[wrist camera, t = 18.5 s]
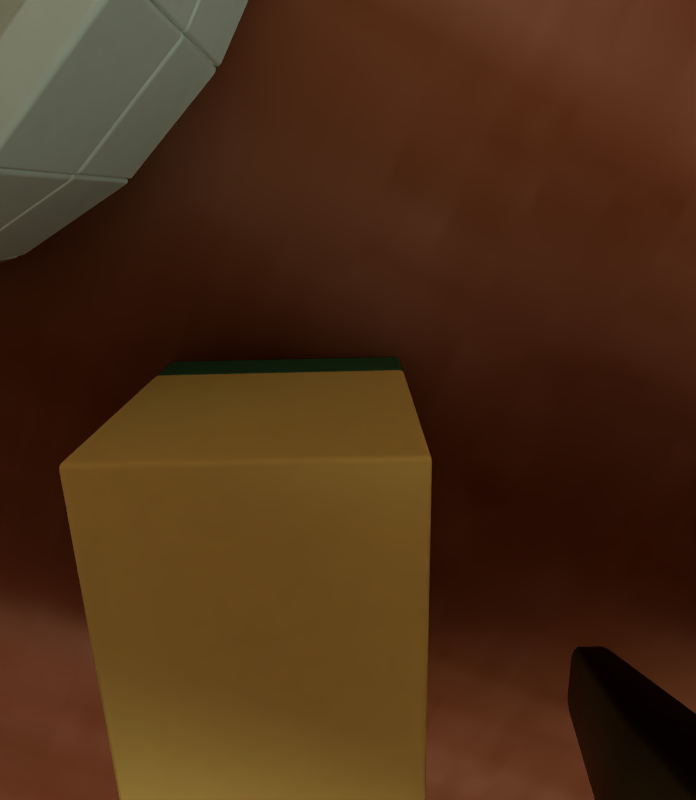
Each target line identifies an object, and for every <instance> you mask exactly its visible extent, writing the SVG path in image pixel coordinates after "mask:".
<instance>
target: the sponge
mask: <svg viewBox="0 0 696 800" xmlns="http://www.w3.org/2000/svg"><path fill="white" fill-rule="evenodd" d="M59 472H60V477H61V483H62V488H63V493H64V499H65V504H66V510H67V515H68V521H69V526H70V532H71V537H72V543H73V548H74V554H75V559H76V564H77V570H78V575H79V581H80V586H81V592H82V597H83V603H84V608H85V614H86V619H87V625H88V630H89V635H90V641H91V646H92V652H93V657H94V663H95V668H96V674H97V679H98V685H99V690H100V696H101V701H102V706H103V712H104V717H105V723H106V728H107V734H108V739H109V745H110V750H111V756H112V761H113V766H114V772H115V777H116V783H117V788H118V794H119V799H120V800H425V779H426V730H427V680H428V631H429V582H430V532H431V483H432V459H431V456H430V453H429V449H428V446H427V443H426V440H425V437H424V434H423V431H422V428H421V425H420V422H419V418H418V415H417V412H416V409H415V406H414V403H413V400H412V397H411V394H410V391H409V387H408V384H407V381H406V378H405V375H404V373H403V370H402V367H401V364H400V361H399V359H398V358H396V357H370V358H325V359H281V360H237V361H193V362H173V363H170V364H169V365H168V366H167V367H166V368H165V369H164V370H163V371H162V372H161V373H160V374H159V375H158V376H156V377H155V378H154V379H152V380H151V381H150V382H149V383H148V384H147V385H146V386H145V387H144V388H143V389H142V390H140V391H139V392H138V393H137V394H136V395H135V396H134V397H133V398H132V399H131V400H130V401H128V402H127V403H126V404H125V405H124V406H123V407H122V408H121V409H120V410H119V411H118V412H116V413H115V414H114V415H113V416H112V417H111V418H110V419H109V420H108V421H107V422H106V423H104V424H103V425H102V426H101V427H100V428H99V429H98V430H97V431H96V432H95V433H94V434H92V435H91V436H90V437H89V438H88V439H87V440H86V441H85V442H84V443H83V444H82V445H80V446H79V447H78V448H77V449H76V450H75V451H74V452H73V453H72V454H71V455H70V456H68V457H67V458H66V459H65V460H64V461H63V462H62V463H61V464H60V468H59Z"/></svg>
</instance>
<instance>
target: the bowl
mask: <svg viewBox="0 0 696 800" xmlns="http://www.w3.org/2000/svg"><path fill="white" fill-rule="evenodd" d="M247 2H248V0H0V263H2V262H5V261H9V260H12V259H15V258H16V257H17V256H20V255H25V254H26V253H27V252H29V251H30V250H32V249H33V248H35V247H36V246H38V245H39V244H40V243H42V242H43V241H45V240H46V239H48V238H49V237H51V236H52V235H53V234H55V233H56V232H58V231H59V230H61V229H62V228H64V227H65V226H66V225H68V224H69V223H71V222H72V221H74V220H75V219H77V218H78V217H79V216H81V215H82V214H84V213H85V212H87V211H88V210H90V209H91V208H92V207H94V206H95V205H97V204H98V203H100V202H101V201H103V200H104V199H105V198H107V197H108V196H110V195H111V194H113V193H114V192H116V191H117V190H118V189H120V188H121V187H123V186H124V185H126V184H127V182H128V180H127V179H130V178H132V177H133V176H134V174H135V173H136V172H137V170H138V169H139V168H140V167H141V165H142V164H143V163H144V162H145V160H146V159H147V158H148V157H149V155H150V154H151V153H152V152H153V150H154V149H155V148H156V147H157V145H158V144H159V143H160V142H161V140H162V139H163V138H164V137H165V135H166V134H167V133H168V132H169V130H170V129H171V128H172V127H173V125H174V124H175V123H176V121H177V120H178V119H179V118H180V116H181V115H182V114H183V113H184V111H185V110H186V109H187V108H188V106H189V105H190V104H191V103H192V101H193V100H194V99H195V98H196V96H197V95H198V94H199V93H200V91H201V90H202V89H203V88H204V86H205V85H206V84H207V83H208V81H209V80H210V79H211V77H212V76H213V75H214V74H215V71H216V67H215V66H219V65H220V64H221V63H222V60H223V58H224V56H225V53H226V51H227V49H228V46H229V44H230V42H231V39H232V37H233V35H234V32H235V30H236V28H237V25H238V23H239V21H240V18H241V16H242V14H243V12H244V9H245V7H246V5H247Z"/></svg>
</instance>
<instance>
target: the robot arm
mask: <svg viewBox="0 0 696 800" xmlns="http://www.w3.org/2000/svg"><path fill="white" fill-rule="evenodd" d="M568 706H569V711H570V715H571V719H572V722H573V725H574V729H575V732H576V736H577V739H578V743H579V746H580V750H581V753H582V756H583V760H584V763H585V767H586V770H587V774H588V777H589V781H590V784H591V787H592V791H593V794H594V798H595V800H696V714H695V713H694V712H692V711H691V710H690V709H688V708H687V707H686V706H684V705H683V704H682V703H680V702H679V701H678V700H676V699H675V698H674V697H672V696H671V695H670V694H668V693H667V692H665V691H664V690H663V689H661V688H660V687H659V686H657V685H656V684H655V683H653V682H652V681H651V680H649V679H648V678H647V677H645V676H644V675H643V674H641V673H640V672H638V671H637V670H636V669H634V668H633V667H632V666H630V665H629V664H628V663H626V662H625V661H624V660H622V659H621V658H620V657H618V656H617V655H616V654H614V653H613V652H612V651H610V650H609V649H607V648H605V647H601V646H595V647H577V648H576V649H575V650H574V651H573V654H572V659H571V668H570V678H569V687H568Z"/></svg>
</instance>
